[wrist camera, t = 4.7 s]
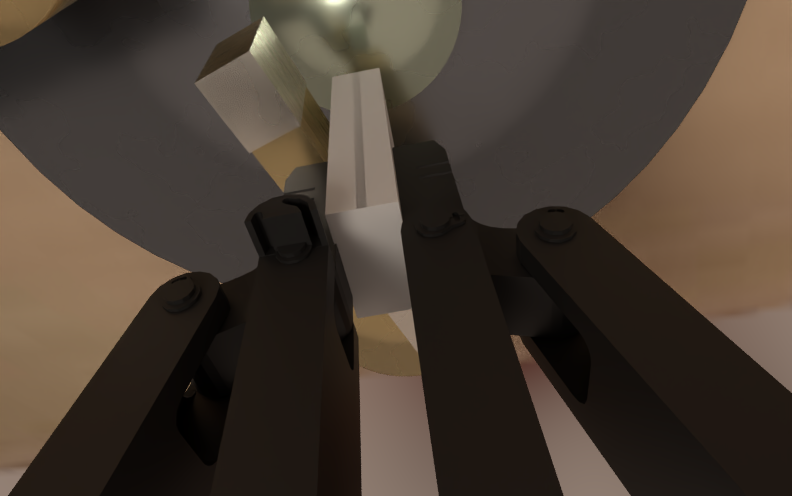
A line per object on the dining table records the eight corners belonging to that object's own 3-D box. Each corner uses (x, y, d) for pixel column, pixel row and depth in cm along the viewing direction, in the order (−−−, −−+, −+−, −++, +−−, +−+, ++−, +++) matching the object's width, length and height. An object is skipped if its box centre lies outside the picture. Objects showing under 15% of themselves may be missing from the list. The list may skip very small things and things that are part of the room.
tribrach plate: (153, 327, 24) (138, 369, 22) (-467, -599, 9) (-676, -710, 7) (678, 235, 23) (707, 270, 21) (948, -958, 8) (1127, -1188, 6)
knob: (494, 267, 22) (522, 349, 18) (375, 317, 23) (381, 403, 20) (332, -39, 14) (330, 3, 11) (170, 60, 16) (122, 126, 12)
